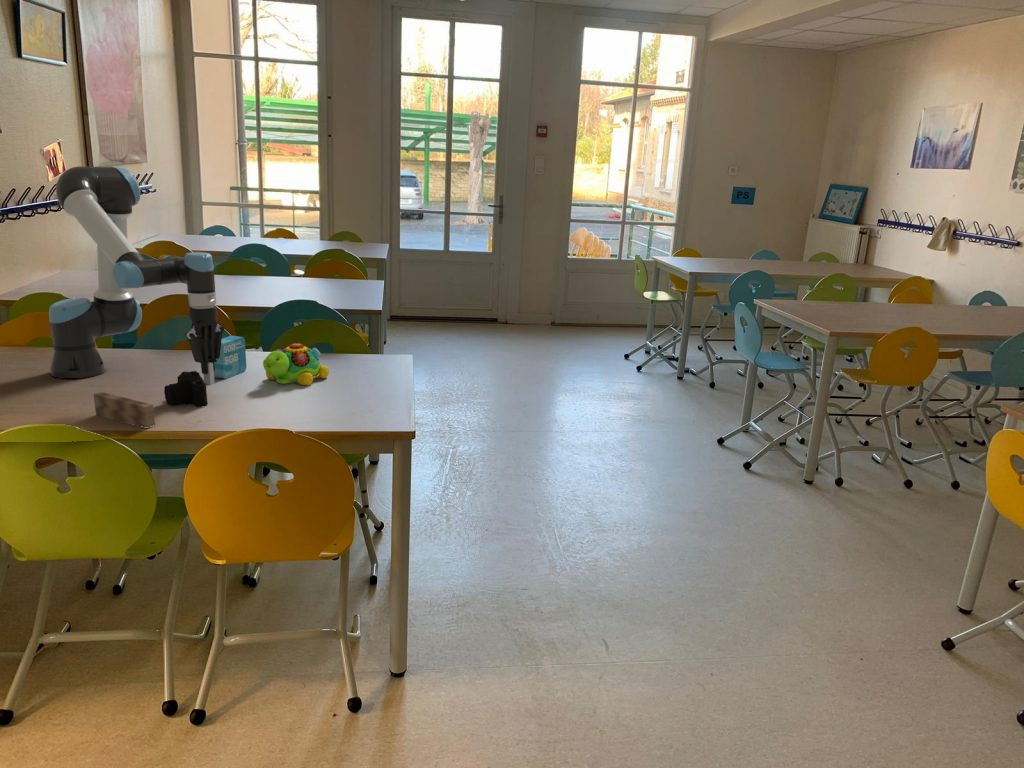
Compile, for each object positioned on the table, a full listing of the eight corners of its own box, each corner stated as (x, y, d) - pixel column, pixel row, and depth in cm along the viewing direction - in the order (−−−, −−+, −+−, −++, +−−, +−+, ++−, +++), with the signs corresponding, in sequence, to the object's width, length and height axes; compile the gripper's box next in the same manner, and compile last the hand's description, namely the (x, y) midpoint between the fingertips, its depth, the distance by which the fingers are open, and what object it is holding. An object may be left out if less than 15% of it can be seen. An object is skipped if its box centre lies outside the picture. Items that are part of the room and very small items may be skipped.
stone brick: (96, 415, 204) (93, 394, 202) (104, 412, 206) (101, 391, 204) (147, 428, 195) (145, 407, 194) (155, 426, 198) (153, 404, 196)
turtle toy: (247, 386, 234) (245, 350, 231) (293, 369, 255) (291, 335, 252) (292, 394, 229) (291, 357, 225) (335, 375, 250) (334, 341, 246)
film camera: (159, 398, 219) (156, 369, 217) (192, 393, 225) (190, 364, 223) (177, 412, 209) (174, 382, 206) (211, 406, 215) (209, 376, 212)
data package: (224, 380, 239) (221, 343, 236) (212, 378, 240) (209, 342, 237) (247, 370, 250) (245, 336, 247) (235, 369, 252) (233, 334, 248)
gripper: (194, 311, 211) (201, 390, 217) (229, 304, 222) (235, 380, 229) (175, 308, 214) (182, 386, 220) (210, 301, 225) (216, 376, 232)
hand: (209, 383), depth 225 cm, fingers closed
